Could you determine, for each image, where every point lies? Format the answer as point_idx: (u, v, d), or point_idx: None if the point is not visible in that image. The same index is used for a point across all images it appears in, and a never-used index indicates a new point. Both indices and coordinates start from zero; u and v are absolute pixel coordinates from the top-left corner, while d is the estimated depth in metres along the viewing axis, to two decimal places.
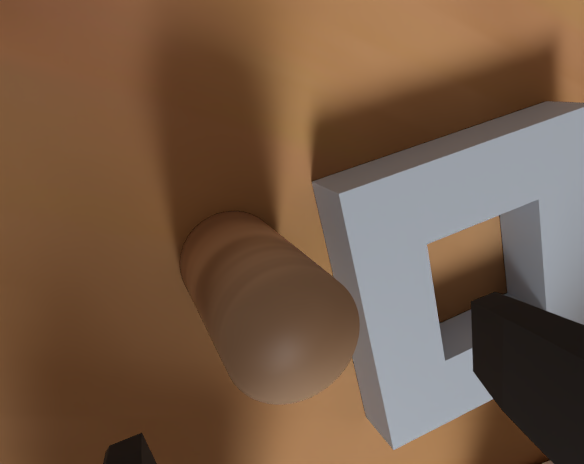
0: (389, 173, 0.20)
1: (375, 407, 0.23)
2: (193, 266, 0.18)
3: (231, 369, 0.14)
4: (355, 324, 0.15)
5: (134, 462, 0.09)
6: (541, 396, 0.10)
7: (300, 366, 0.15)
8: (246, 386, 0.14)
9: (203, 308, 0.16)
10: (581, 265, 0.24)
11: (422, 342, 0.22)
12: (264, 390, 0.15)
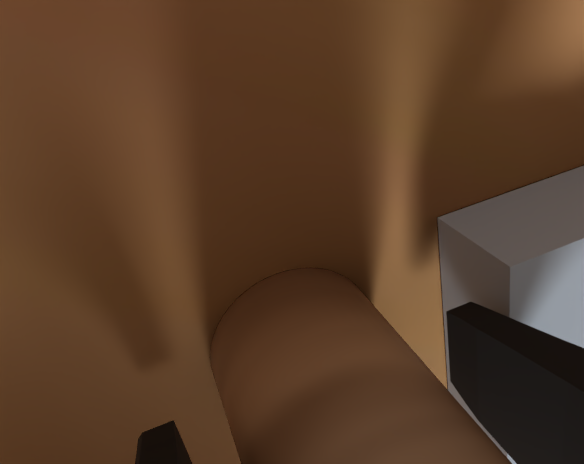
0: None
1: None
2: (240, 395, 0.10)
3: None
4: None
5: (169, 448, 0.09)
6: (514, 408, 0.10)
7: None
8: None
9: None
10: None
11: None
12: None
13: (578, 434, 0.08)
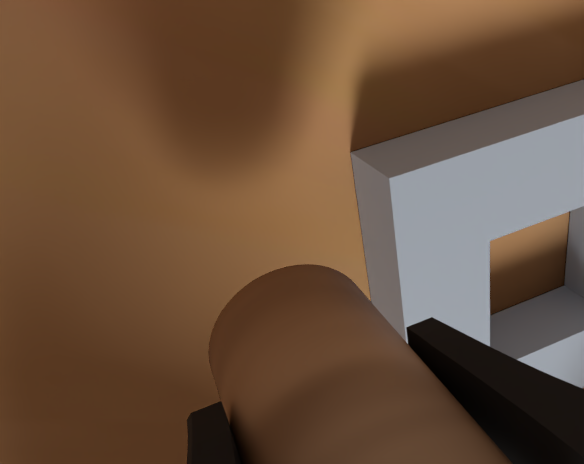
0: (455, 152, 0.15)
1: None
2: (238, 390, 0.10)
3: None
4: None
5: (221, 426, 0.09)
6: None
7: None
8: None
9: None
10: None
11: None
12: None
13: (528, 458, 0.08)
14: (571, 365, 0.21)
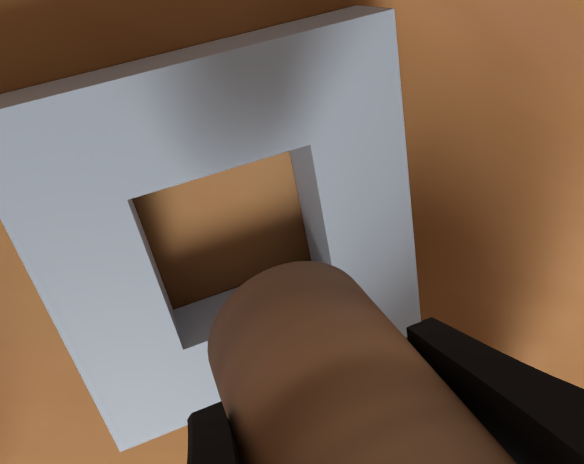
0: (47, 95, 0.13)
1: None
2: (236, 388, 0.10)
3: None
4: None
5: (221, 426, 0.09)
6: None
7: None
8: None
9: None
10: (386, 234, 0.18)
11: (143, 326, 0.17)
12: None
13: (528, 458, 0.08)
14: None
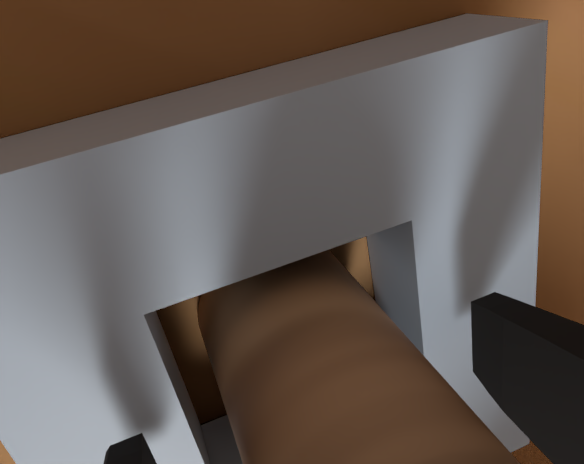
0: (17, 165, 0.08)
1: None
2: (222, 343, 0.11)
3: None
4: None
5: (134, 462, 0.09)
6: (541, 396, 0.10)
7: None
8: None
9: (242, 447, 0.09)
10: None
11: None
12: None
13: None
14: None
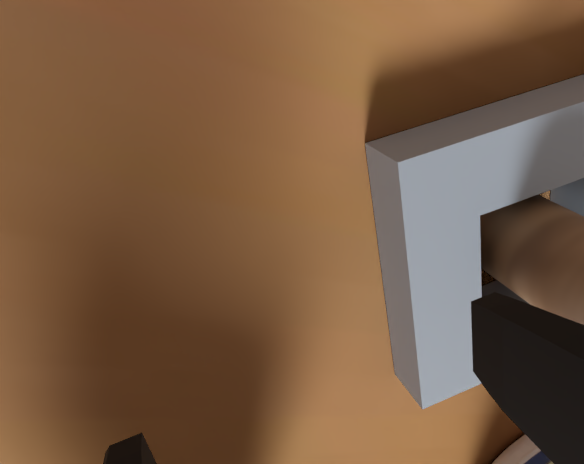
0: (451, 141, 0.19)
1: (407, 368, 0.24)
2: (500, 236, 0.21)
3: None
4: None
5: (134, 462, 0.09)
6: (541, 396, 0.10)
7: None
8: None
9: (534, 275, 0.20)
10: None
11: (463, 310, 0.22)
12: None
13: None
14: None
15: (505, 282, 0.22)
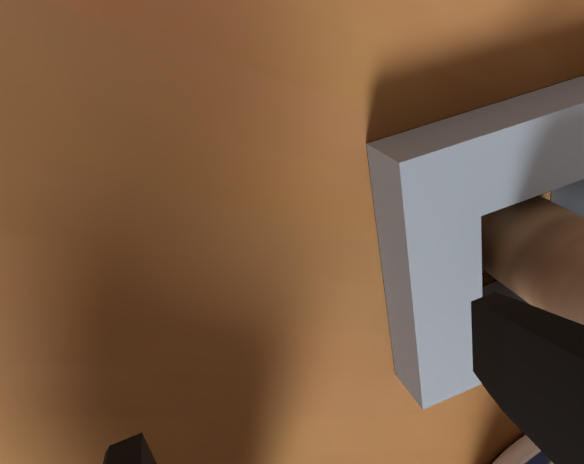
0: (452, 142, 0.19)
1: (408, 368, 0.24)
2: (501, 236, 0.21)
3: None
4: None
5: (134, 462, 0.09)
6: (541, 396, 0.10)
7: None
8: None
9: (535, 276, 0.20)
10: None
11: (464, 311, 0.22)
12: None
13: None
14: None
15: (506, 283, 0.22)
